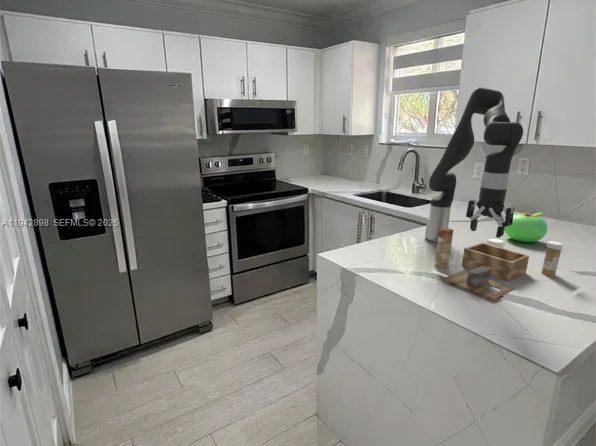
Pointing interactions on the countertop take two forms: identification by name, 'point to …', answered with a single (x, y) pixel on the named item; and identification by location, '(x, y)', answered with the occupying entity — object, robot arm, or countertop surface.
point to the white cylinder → (496, 242)
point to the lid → (478, 283)
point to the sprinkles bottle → (551, 258)
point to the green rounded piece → (527, 227)
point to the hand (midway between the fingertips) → (485, 233)
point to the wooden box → (496, 260)
